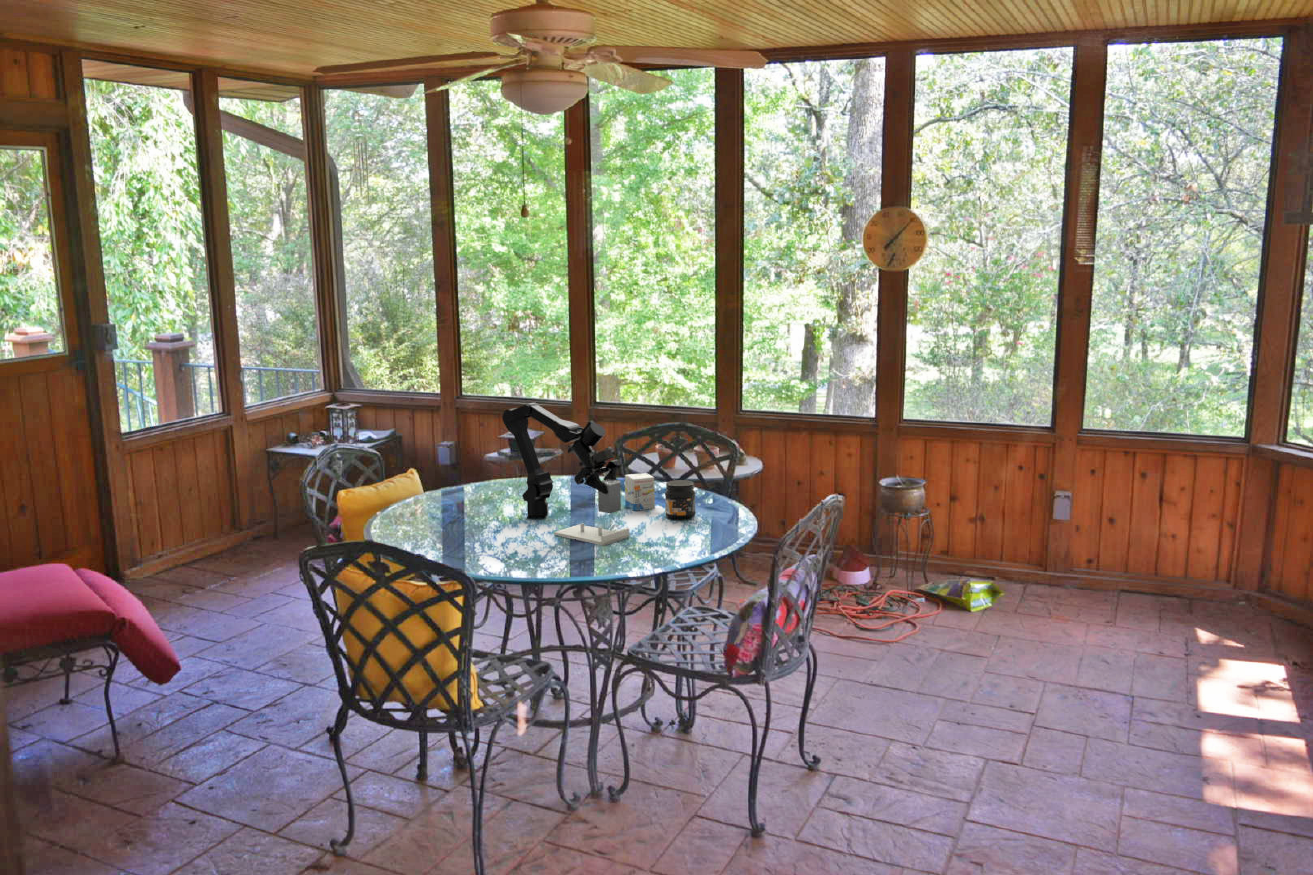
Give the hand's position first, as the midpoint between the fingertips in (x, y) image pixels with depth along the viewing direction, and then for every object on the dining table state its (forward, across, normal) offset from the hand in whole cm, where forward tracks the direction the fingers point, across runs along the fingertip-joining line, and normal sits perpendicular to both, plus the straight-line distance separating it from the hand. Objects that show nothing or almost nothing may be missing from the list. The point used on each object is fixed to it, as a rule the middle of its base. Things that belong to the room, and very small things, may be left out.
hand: (612, 491), depth 351 cm
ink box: (0, +30, +18) cm, 35 cm away
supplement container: (+15, +27, +4) cm, 31 cm away
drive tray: (+8, -10, +10) cm, 16 cm away
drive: (+4, 0, +6) cm, 7 cm away
